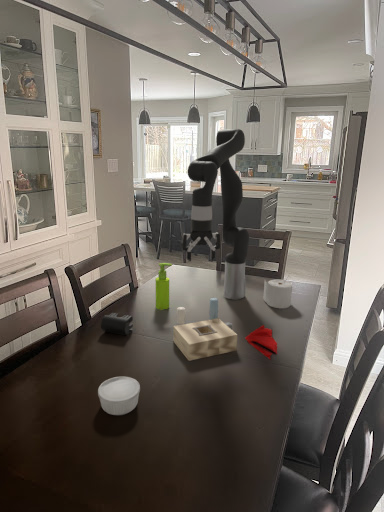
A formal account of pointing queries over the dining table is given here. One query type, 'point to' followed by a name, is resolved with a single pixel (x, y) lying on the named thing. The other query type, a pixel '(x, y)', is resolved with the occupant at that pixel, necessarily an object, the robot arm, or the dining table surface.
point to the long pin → (213, 308)
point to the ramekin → (119, 395)
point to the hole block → (204, 339)
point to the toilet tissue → (278, 293)
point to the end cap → (117, 324)
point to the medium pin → (180, 316)
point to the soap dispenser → (162, 288)
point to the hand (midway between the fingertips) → (200, 260)
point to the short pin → (229, 325)
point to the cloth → (263, 341)
